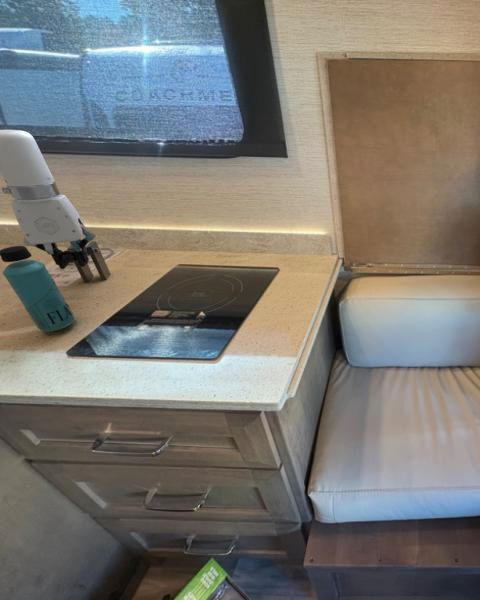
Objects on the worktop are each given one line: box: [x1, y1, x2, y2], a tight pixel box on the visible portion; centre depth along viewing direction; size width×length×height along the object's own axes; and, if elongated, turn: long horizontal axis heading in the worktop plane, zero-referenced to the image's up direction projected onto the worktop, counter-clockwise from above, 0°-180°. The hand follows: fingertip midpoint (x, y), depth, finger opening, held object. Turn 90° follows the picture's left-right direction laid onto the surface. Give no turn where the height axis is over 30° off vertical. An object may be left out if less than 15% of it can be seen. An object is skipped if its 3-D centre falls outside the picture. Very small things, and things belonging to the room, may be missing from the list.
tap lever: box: [60, 245, 91, 264], centre depth 86 cm, size 12×3×3 cm, turn 24°
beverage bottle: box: [0, 245, 75, 332], centre depth 71 cm, size 6×7×20 cm
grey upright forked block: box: [66, 240, 111, 284], centre depth 92 cm, size 7×10×12 cm
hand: (74, 265), depth 84 cm, fingers closed on tap lever, 3 cm apart
